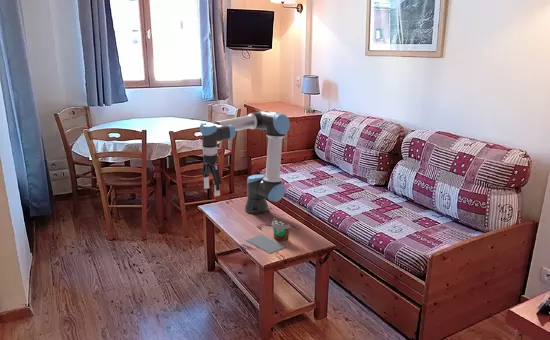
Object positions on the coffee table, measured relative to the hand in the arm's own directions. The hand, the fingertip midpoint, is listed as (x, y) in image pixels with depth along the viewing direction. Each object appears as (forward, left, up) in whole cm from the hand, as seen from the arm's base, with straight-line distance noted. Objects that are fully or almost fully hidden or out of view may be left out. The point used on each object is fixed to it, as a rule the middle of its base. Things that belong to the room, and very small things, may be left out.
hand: (211, 192), depth 235 cm
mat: (-17, +25, -27) cm, 40 cm away
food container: (-26, +25, -27) cm, 45 cm away
